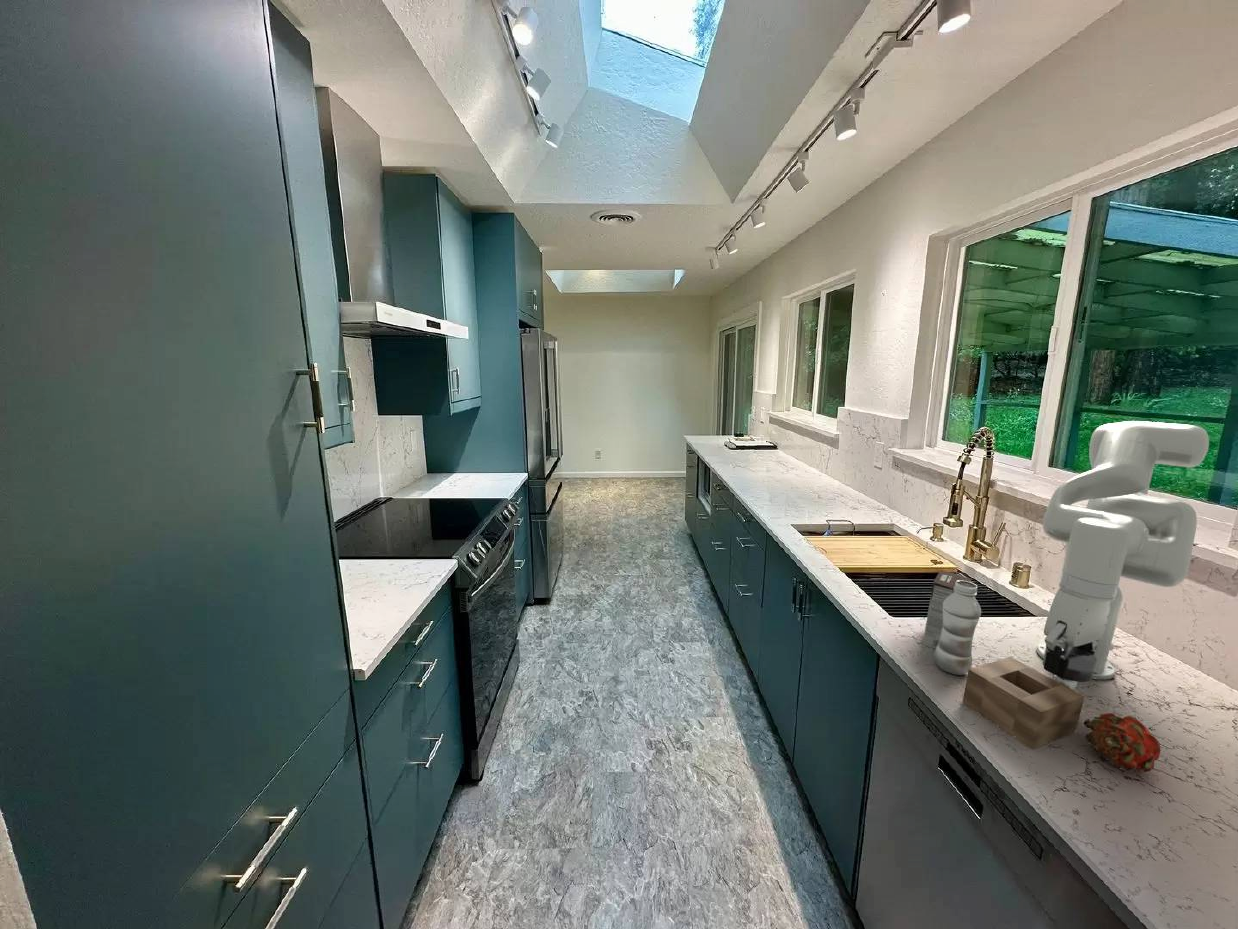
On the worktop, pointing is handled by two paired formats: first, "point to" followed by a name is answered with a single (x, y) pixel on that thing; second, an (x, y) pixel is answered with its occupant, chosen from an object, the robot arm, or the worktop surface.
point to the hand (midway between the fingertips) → (1066, 668)
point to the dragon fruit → (1123, 742)
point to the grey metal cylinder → (1076, 667)
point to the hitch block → (1023, 701)
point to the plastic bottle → (958, 629)
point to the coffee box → (939, 606)
